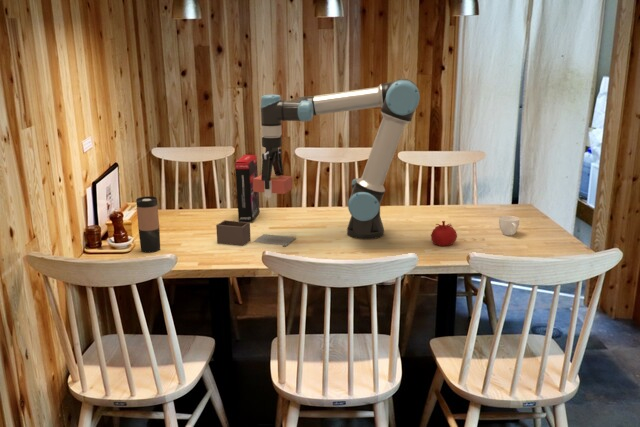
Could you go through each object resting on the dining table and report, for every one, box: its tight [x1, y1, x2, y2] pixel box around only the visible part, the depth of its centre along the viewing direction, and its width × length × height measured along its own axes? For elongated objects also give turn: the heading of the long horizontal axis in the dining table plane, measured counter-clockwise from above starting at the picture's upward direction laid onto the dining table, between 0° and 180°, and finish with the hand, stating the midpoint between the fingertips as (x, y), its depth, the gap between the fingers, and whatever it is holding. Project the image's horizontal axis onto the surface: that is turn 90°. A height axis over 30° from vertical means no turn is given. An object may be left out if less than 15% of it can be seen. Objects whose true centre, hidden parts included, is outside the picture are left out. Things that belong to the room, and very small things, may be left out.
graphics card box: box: [234, 154, 260, 223], centre depth 277 cm, size 17×7×27 cm, turn 175°
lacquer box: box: [215, 219, 251, 247], centre depth 244 cm, size 11×7×8 cm, turn 72°
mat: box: [252, 233, 297, 248], centre depth 247 cm, size 14×11×1 cm
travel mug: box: [135, 195, 161, 254], centre depth 235 cm, size 8×8×20 cm
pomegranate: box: [430, 220, 458, 247], centre depth 242 cm, size 10×10×9 cm
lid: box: [253, 174, 293, 195], centre depth 241 cm, size 13×9×5 cm
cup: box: [498, 215, 520, 237], centre depth 253 cm, size 8×10×7 cm
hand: (273, 194), depth 242 cm, fingers closed on lid, 9 cm apart
